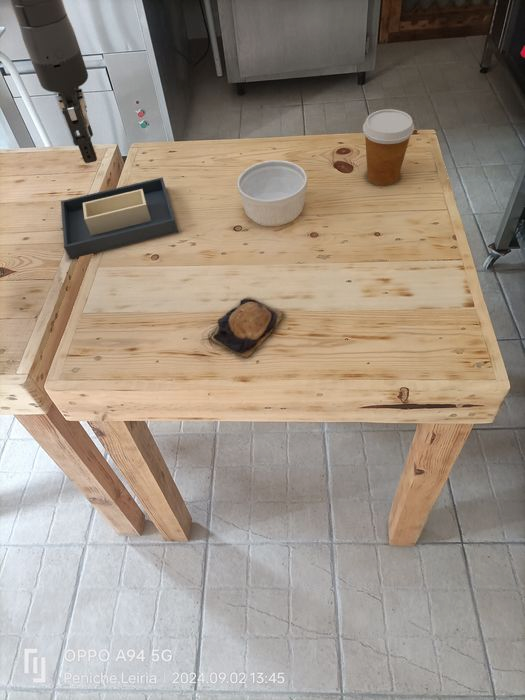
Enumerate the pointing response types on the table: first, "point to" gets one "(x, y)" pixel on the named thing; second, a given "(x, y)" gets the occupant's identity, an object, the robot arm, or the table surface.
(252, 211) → the ramekin
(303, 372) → the table surface
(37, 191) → the table surface
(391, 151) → the disposable coffee cup
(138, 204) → the beige open box
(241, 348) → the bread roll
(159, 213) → the tray
